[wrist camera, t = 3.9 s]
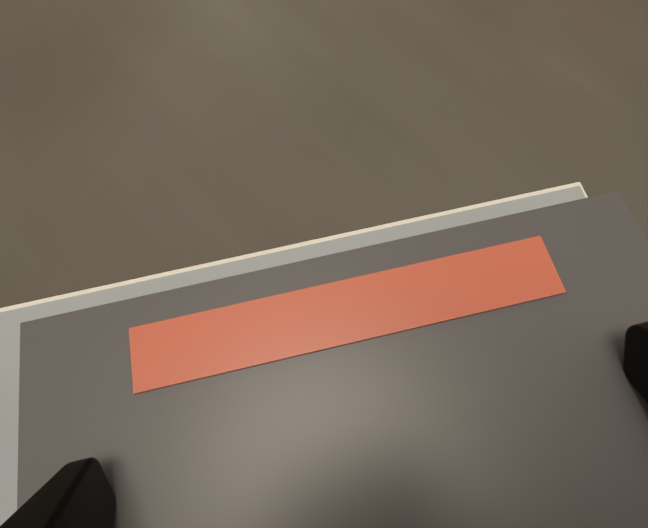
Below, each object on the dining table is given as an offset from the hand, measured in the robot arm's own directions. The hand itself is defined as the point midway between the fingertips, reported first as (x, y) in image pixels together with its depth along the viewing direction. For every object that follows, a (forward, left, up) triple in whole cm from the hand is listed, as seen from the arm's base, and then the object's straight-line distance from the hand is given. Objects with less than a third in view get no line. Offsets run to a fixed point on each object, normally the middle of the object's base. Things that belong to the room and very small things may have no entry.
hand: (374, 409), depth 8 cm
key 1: (0, 0, -2) cm, 2 cm away
